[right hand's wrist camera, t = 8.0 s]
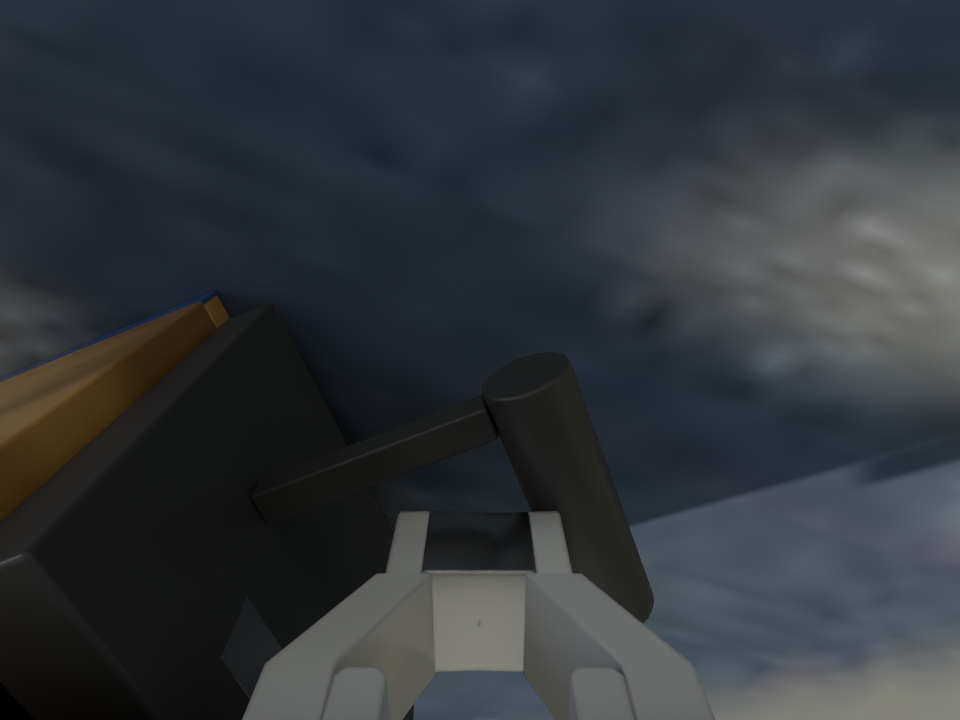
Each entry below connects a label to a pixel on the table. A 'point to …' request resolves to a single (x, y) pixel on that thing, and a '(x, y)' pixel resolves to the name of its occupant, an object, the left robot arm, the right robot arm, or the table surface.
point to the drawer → (255, 526)
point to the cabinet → (89, 392)
